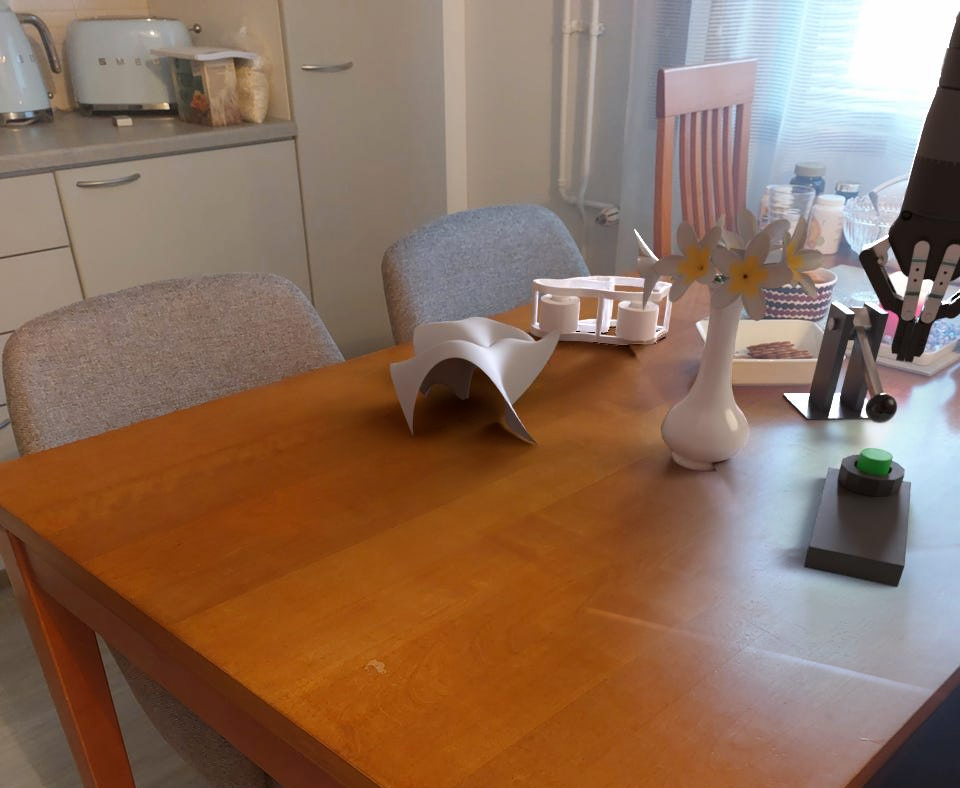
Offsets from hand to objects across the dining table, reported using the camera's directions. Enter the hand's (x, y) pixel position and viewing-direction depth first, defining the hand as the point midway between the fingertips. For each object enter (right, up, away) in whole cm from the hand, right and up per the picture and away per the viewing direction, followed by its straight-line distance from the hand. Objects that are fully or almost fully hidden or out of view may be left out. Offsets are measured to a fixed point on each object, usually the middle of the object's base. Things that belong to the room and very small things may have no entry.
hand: (904, 359), depth 86 cm
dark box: (-3, -16, +2) cm, 17 cm away
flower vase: (-16, -7, +15) cm, 23 cm away
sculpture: (-40, +3, +28) cm, 49 cm away
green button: (-1, -9, +5) cm, 11 cm away
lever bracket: (+3, +1, +27) cm, 27 cm away
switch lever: (+4, +4, +19) cm, 20 cm away
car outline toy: (-22, +18, +49) cm, 57 cm away
